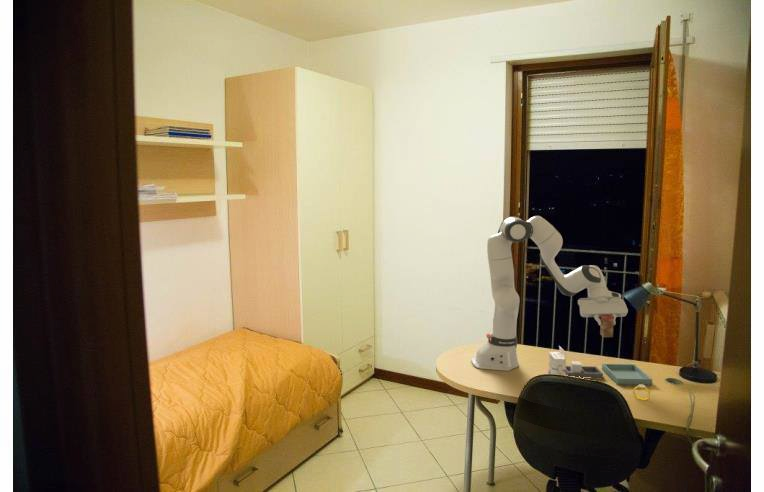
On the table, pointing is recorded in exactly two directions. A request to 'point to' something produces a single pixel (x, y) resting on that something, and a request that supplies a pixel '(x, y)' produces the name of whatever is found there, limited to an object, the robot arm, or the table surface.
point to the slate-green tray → (626, 374)
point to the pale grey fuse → (576, 366)
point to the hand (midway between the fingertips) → (607, 324)
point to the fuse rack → (583, 372)
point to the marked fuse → (606, 326)
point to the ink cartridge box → (557, 362)
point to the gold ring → (642, 388)
